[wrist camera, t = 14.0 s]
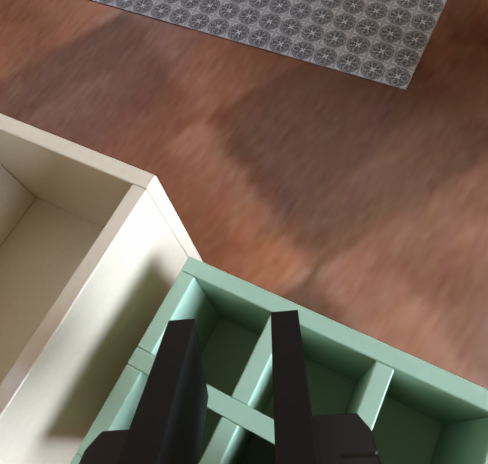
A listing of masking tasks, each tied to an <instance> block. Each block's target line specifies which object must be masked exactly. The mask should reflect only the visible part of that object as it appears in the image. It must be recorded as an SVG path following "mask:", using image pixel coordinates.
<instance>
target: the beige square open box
mask: <svg viewBox="0 0 488 464" xmlns="http://www.w3.org/2000/svg"><path fill="white" fill-rule="evenodd" d="M188 257H193V258H195V259H197V260H199V261H201V262H203V261H202V259H201V257H200V255H199V253H198V252H197V250H196V248H195V246H194V244H193V242H192V241H191V239H190V237H189V235H188V233H187V231H186V230H185V228H184V226H183V224H182V222H181V220H180V219H179V217H178V215H177V213H176V211H175V210H174V208H173V206H172V204H171V202H170V200H169V199H168V197H167V195H166V193H165V191H164V189H163V188H162V186H161V184H160V182H159V180H158V178H157V177H156V175H153V174H151V173H148V172H146V171H143V170H141V169H138V168H136V167H133V166H131V165H128V164H126V163H123V162H121V161H118V160H116V159H113V158H111V157H108V156H106V155H103V154H101V153H98V152H96V151H93V150H91V149H88V148H86V147H83V146H81V145H78V144H76V143H73V142H71V141H68V140H66V139H63V138H61V137H58V136H56V135H53V134H51V133H48V132H45V131H43V130H40V129H38V128H35V127H33V126H30V125H28V124H25V123H23V122H20V121H18V120H15V119H13V118H10V117H8V116H5V115H3V114H0V464H70V462H71V461H72V459H73V457H74V455H75V454H76V453H77V450H78V449H79V447H80V445H81V443H82V442H83V440H84V438H85V436H86V435H87V433H88V431H89V429H90V428H91V426H92V424H93V422H94V421H95V419H96V417H97V415H98V414H99V412H100V410H101V408H102V407H103V405H104V403H105V402H106V400H107V398H108V396H109V395H110V393H111V391H112V389H113V388H114V386H115V384H116V382H117V381H118V379H119V377H120V375H121V374H122V372H123V370H124V368H125V367H126V365H127V364H128V361H129V359H130V358H131V356H132V354H133V352H134V351H135V349H136V348H137V347H138V344H139V343H140V341H141V339H142V337H143V336H144V334H145V332H146V330H147V329H148V327H149V325H150V323H151V322H152V320H153V318H154V316H155V315H156V313H157V311H158V310H159V308H160V306H161V304H162V303H163V301H164V299H165V297H166V296H167V294H168V292H169V290H170V289H171V287H172V285H173V283H174V282H175V280H176V278H177V276H178V275H179V273H180V272H181V271H182V268H183V266H184V264H185V262H186V261H187V259H188ZM138 348H139V347H138Z"/></svg>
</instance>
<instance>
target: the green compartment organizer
mask: <svg viewBox="0 0 488 464" xmlns="http://www.w3.org/2000/svg"><path fill="white" fill-rule="evenodd" d="M290 310H298V315H299V322H300V329H301V337H302V344H303V351H304V358H305V365H306V373H307V380H308V387H309V394H310V402H311V409H312V416H319V415H334V414H350V413H357V414H358V415H359V416H360V417H361V419H362V420H363V421H364V422H365V423H366V424H367V426H368V427H369V428H370V429H371V430H372V434H373V437H374V440H375V444H376V447H377V451H378V456H379V458H380V461H381V464H488V389H486V388H483V387H481V386H479V385H477V384H474V383H472V382H470V381H468V380H466V379H463V378H461V377H459V376H457V375H454V374H452V373H450V372H448V371H445V370H443V369H441V368H439V367H436V366H434V365H432V364H430V363H427V362H425V361H423V360H421V359H419V358H416V357H414V356H412V355H410V354H407V353H405V352H403V351H401V350H398V349H396V348H394V347H392V346H389V345H387V344H385V343H383V342H380V341H378V340H376V339H374V338H372V337H369V336H367V335H365V334H363V333H360V332H358V331H356V330H354V329H351V328H349V327H347V326H345V325H342V324H340V323H338V322H336V321H334V320H331V319H329V318H327V317H325V316H322V315H320V314H318V313H316V312H313V311H311V310H309V309H307V308H304V307H302V306H300V305H298V304H295V303H293V302H291V301H289V300H287V299H284V298H282V297H280V296H278V295H275V294H273V293H271V292H269V291H266V290H264V289H262V288H260V287H257V286H255V285H253V284H251V283H248V282H246V281H244V280H242V279H240V278H237V277H235V276H233V275H231V274H228V273H226V272H224V271H222V270H219V269H217V268H215V267H213V266H210V265H208V264H206V263H204V262H201V261H199V260H197V259H195V258H193V257H188V259H187V261H186V262H185V264H184V266H183V268H182V271H181V272H180V273H179V275H178V276H177V278H176V280H175V282H174V283H173V285H172V287H171V289H170V290H169V292H168V294H167V296H166V297H165V299H164V301H163V303H162V304H161V306H160V308H159V310H158V311H157V313H156V315H155V316H154V318H153V320H152V322H151V323H150V325H149V327H148V329H147V330H146V332H145V334H144V336H143V337H142V339H141V341H140V343H139V344H138V347H139V348H138V347H137V348H136V349H135V351H134V352H133V354H132V356H131V358H130V359H129V361H128V364H127V365H126V367H125V368H124V370H123V372H122V374H121V375H120V377H119V379H118V381H117V382H116V384H115V386H114V388H113V389H112V391H111V393H110V395H109V396H108V398H107V400H106V402H105V403H104V405H103V407H102V408H101V410H100V412H99V414H98V415H97V417H96V419H95V421H94V422H93V424H92V426H91V428H90V429H89V431H88V433H87V435H86V436H85V438H84V440H83V442H82V443H81V445H80V447H79V449H78V450H77V453H76V454H75V455H74V457H73V459H72V461H71V462H70V464H79V462H80V460H81V458H82V455H83V453H84V451H85V449H86V448H87V447H88V446H89V445H90V444H91V443H92V442H93V441H94V439H95V438H96V437H97V436H98V435H99V434H100V433H101V432H102V431H113V430H128V429H129V428H130V426H131V423H132V420H133V417H134V415H135V412H136V409H137V406H138V404H139V401H140V398H141V395H142V393H143V390H144V387H145V384H146V382H147V379H148V376H149V373H150V371H151V368H152V365H153V362H154V360H155V357H156V354H157V351H158V349H159V346H160V343H161V340H162V338H163V335H164V332H165V329H166V327H167V324H168V321H170V320H182V319H194V318H195V322H196V328H197V334H198V339H199V345H200V351H201V356H202V362H203V368H204V373H205V379H206V385H207V390H208V396H209V397H208V403H207V409H206V415H205V421H204V427H203V434H202V440H201V446H200V452H199V458H198V464H275V438H274V404H273V370H272V336H271V312H278V311H290Z"/></svg>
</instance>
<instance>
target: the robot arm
mask: <svg viewBox="0 0 488 464" xmlns="http://www.w3.org/2000/svg"><path fill="white" fill-rule="evenodd" d="M271 336H272V370H273V404H274V438H275V464H381V461H380V458H379V456H378V451H377V447H376V444H375V440H374V437H373V434H372V430H371V429H370V428H369V427H368V426H367V424H366V423H365V422H364V421H363V420H362V419H361V417H360V416H359V415H358V414H357V413H350V414H334V415H319V416H312V409H311V402H310V394H309V387H308V380H307V373H306V365H305V358H304V351H303V344H302V337H301V329H300V322H299V315H298V310H290V311H278V312H271ZM208 397H209V396H208V390H207V385H206V379H205V373H204V368H203V362H202V356H201V351H200V345H199V339H198V334H197V328H196V322H195V318H194V319H182V320H170V321H168V324H167V327H166V329H165V332H164V335H163V338H162V340H161V343H160V346H159V349H158V351H157V354H156V357H155V360H154V362H153V365H152V368H151V371H150V373H149V376H148V379H147V382H146V384H145V387H144V390H143V393H142V395H141V398H140V401H139V404H138V406H137V409H136V412H135V415H134V417H133V420H132V423H131V426H130V428H129V429H128V430H113V431H102V432H101V433H100V434H99V435H98V436H97V437H96V438H95V439H94V441H93V442H92V443H91V444H90V445H89V446H88V447H87V448H86V449H85V451H84V453H83V455H82V458H81V460H80V462H79V464H198V458H199V452H200V446H201V440H202V434H203V427H204V421H205V415H206V409H207V403H208Z"/></svg>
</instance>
